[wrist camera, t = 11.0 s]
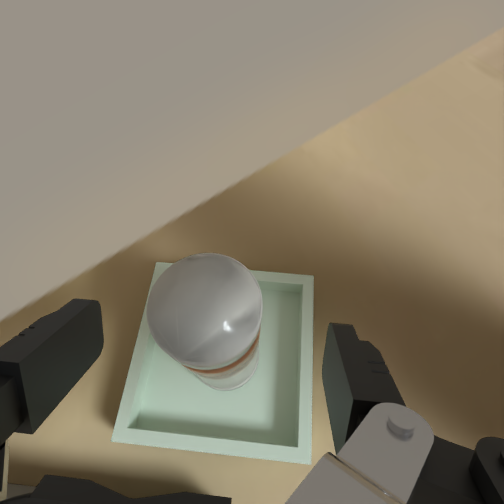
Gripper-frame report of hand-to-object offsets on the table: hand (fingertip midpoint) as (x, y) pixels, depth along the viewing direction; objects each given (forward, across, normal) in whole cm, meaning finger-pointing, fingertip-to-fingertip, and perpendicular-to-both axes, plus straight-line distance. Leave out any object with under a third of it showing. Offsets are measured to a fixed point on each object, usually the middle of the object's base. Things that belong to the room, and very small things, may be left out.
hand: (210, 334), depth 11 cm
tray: (+6, 0, +5) cm, 8 cm away
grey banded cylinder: (+6, 0, +5) cm, 7 cm away
